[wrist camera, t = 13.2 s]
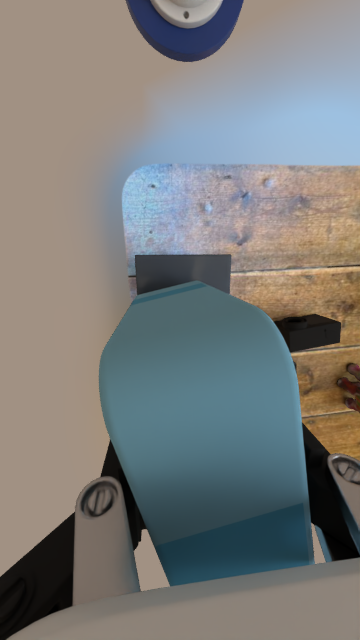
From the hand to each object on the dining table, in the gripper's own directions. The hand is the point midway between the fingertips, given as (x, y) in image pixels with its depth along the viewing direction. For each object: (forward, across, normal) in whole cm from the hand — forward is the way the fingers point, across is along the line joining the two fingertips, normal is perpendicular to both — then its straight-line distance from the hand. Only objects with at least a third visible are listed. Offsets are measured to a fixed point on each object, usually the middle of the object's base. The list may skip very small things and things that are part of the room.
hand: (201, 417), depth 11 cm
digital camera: (+34, -28, +6) cm, 44 cm away
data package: (+7, 0, 0) cm, 7 cm away
